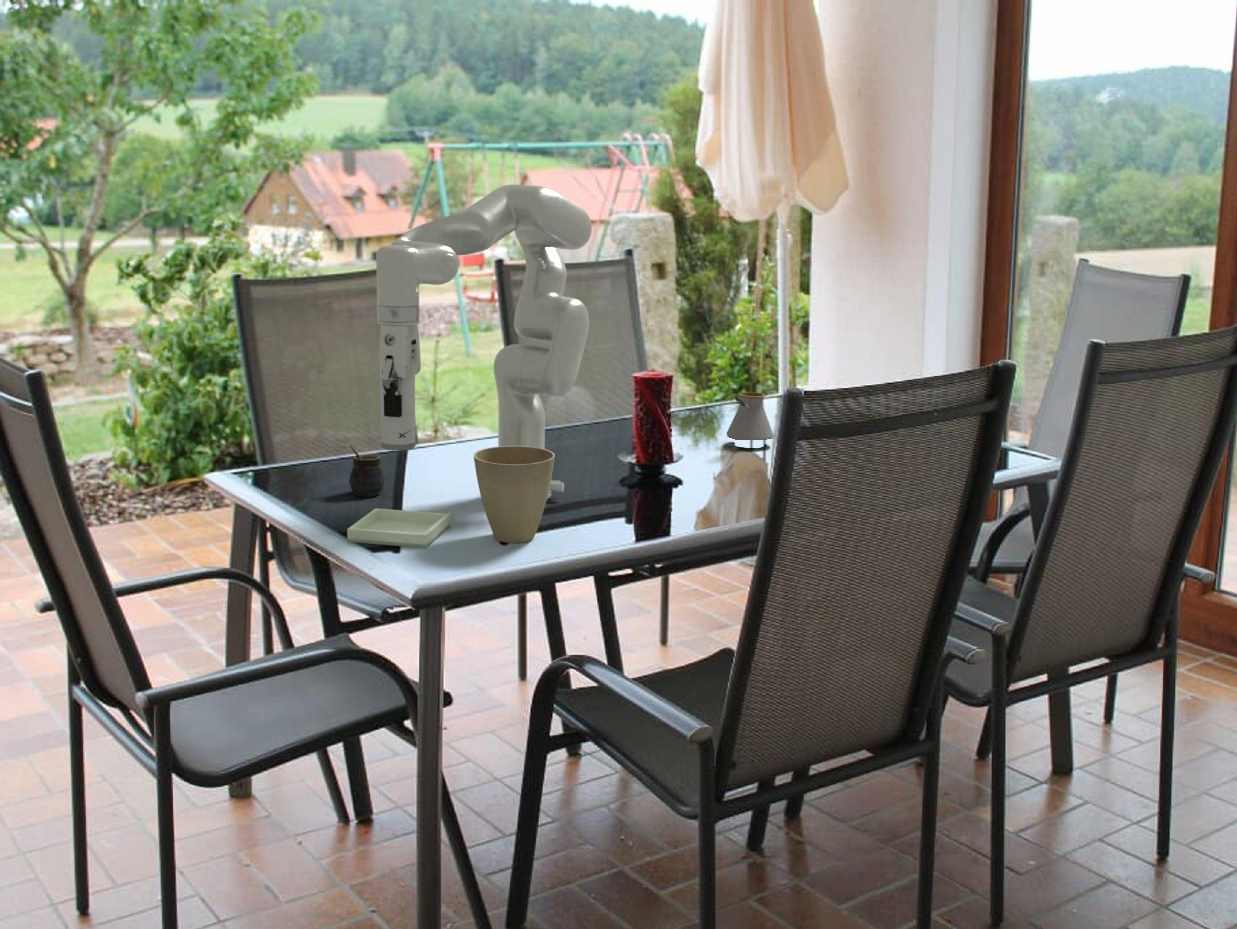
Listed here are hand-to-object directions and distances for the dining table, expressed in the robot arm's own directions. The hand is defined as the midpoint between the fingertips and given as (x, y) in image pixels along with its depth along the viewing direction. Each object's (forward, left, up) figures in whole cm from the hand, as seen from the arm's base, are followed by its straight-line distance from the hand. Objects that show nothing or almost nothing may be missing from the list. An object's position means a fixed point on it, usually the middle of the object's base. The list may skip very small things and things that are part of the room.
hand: (399, 411), depth 255 cm
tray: (0, 0, -23) cm, 23 cm away
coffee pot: (-56, -92, -23) cm, 110 cm away
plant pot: (-21, -3, -23) cm, 32 cm away
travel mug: (0, 0, -7) cm, 7 cm away
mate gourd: (+16, -26, -23) cm, 39 cm away
